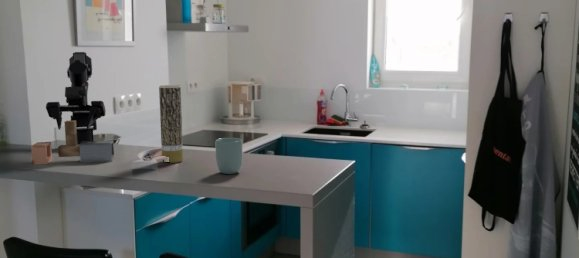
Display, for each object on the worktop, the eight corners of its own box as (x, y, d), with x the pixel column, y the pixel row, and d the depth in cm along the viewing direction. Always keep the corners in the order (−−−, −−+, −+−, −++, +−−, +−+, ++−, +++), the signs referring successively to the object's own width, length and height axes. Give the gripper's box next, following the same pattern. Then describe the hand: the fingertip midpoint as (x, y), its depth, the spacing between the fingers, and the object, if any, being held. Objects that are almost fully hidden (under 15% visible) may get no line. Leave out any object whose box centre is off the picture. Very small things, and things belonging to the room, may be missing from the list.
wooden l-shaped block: (110, 153, 196) (108, 119, 195) (108, 155, 193) (106, 120, 191) (61, 155, 194) (59, 120, 193) (58, 157, 191) (56, 122, 189)
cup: (229, 169, 179) (228, 136, 178) (248, 172, 174) (247, 139, 173) (211, 173, 173) (210, 140, 172) (229, 176, 168) (228, 142, 167)
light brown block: (52, 160, 196) (50, 141, 195) (46, 164, 189) (45, 145, 188) (38, 160, 195) (37, 142, 195) (32, 164, 189) (31, 145, 188)
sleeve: (114, 158, 198) (113, 140, 197) (111, 161, 193) (110, 142, 192) (83, 159, 196) (82, 141, 196) (80, 162, 191) (79, 143, 190)
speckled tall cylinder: (185, 159, 194) (183, 84, 191) (179, 163, 188) (177, 86, 184) (165, 159, 195) (162, 85, 192) (159, 163, 188) (156, 86, 185)
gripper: (45, 78, 197) (38, 114, 188) (102, 77, 199) (97, 112, 190) (53, 99, 206) (46, 134, 196) (107, 98, 208) (103, 133, 199)
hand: (73, 128), depth 195 cm, fingers open, 9 cm apart
